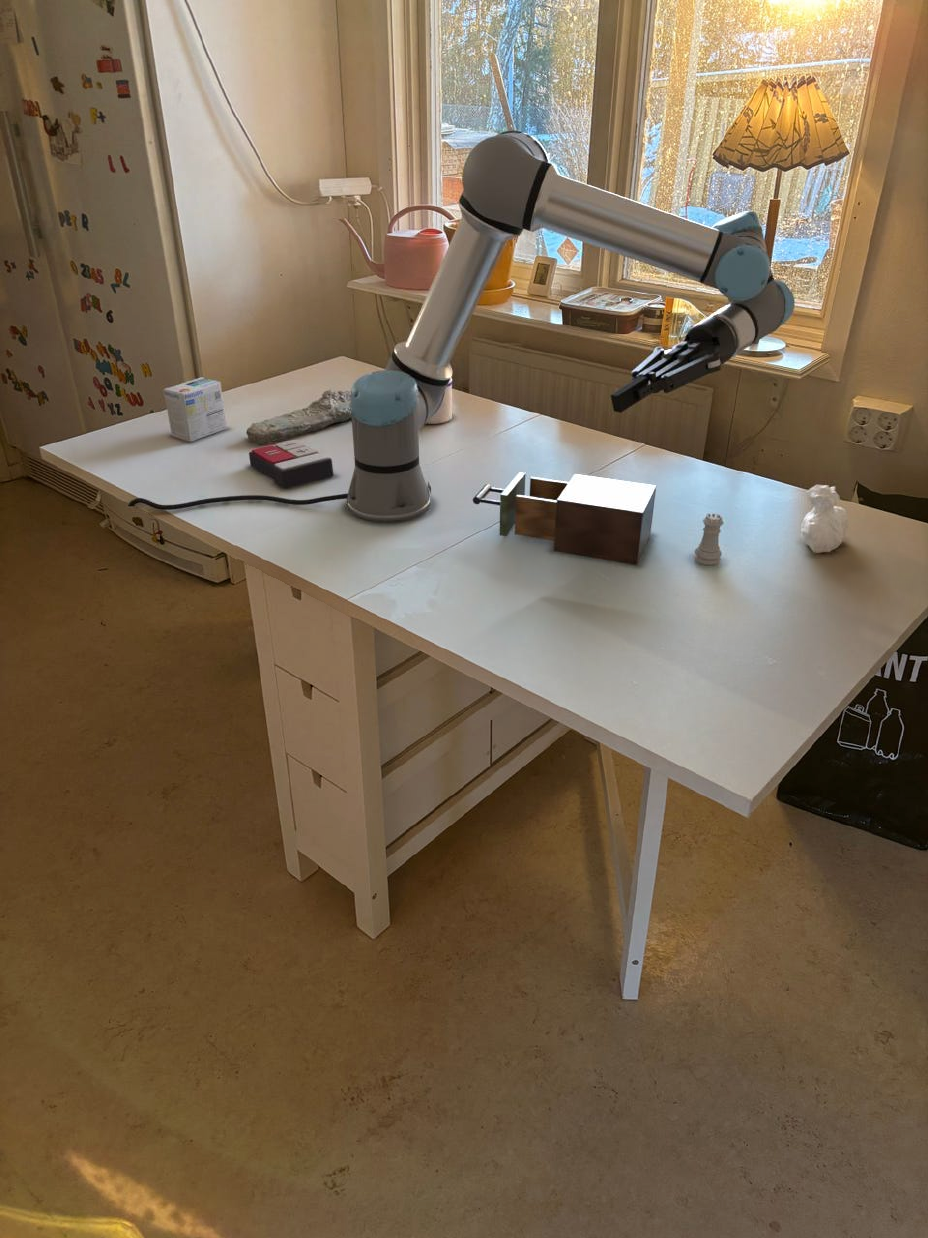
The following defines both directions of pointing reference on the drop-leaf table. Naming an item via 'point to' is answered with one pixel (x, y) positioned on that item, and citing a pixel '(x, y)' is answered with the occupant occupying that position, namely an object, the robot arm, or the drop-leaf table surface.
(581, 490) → the cabinet
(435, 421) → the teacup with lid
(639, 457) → the drop-leaf table surface
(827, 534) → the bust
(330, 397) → the long grey stone
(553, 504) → the drawer
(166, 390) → the light bulb box
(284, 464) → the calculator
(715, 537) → the rook chess piece
